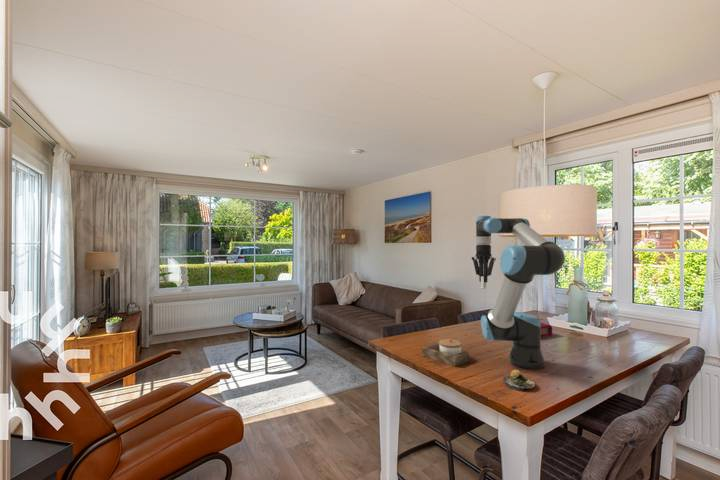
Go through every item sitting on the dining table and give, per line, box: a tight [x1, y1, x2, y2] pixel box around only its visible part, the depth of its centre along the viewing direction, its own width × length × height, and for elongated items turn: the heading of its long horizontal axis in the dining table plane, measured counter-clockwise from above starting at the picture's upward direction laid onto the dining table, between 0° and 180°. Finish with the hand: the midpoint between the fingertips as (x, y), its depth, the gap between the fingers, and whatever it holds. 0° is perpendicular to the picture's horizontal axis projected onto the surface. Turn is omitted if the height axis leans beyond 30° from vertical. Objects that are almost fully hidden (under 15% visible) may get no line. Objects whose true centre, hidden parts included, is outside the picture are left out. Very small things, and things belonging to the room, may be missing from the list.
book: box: [540, 322, 553, 338], centre depth 210 cm, size 21×28×8 cm
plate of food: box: [502, 366, 536, 392], centre depth 132 cm, size 12×12×8 cm
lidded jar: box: [438, 338, 463, 356], centre depth 162 cm, size 11×11×9 cm
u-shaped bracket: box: [421, 342, 470, 367], centre depth 162 cm, size 19×12×4 cm, turn 41°
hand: (483, 288), depth 176 cm, fingers closed
